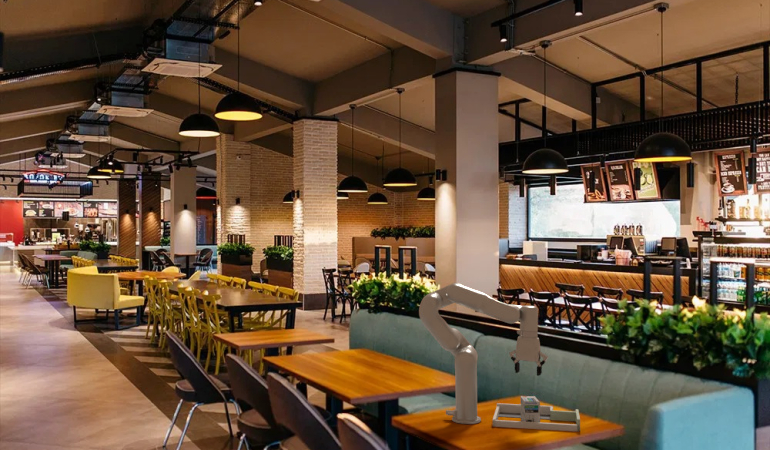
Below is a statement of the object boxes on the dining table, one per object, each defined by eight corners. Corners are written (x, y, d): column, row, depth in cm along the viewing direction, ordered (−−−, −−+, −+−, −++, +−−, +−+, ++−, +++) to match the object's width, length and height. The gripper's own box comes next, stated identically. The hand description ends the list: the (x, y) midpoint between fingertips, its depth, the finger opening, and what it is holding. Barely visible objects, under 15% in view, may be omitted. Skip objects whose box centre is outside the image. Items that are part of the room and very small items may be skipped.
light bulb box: (540, 426, 291) (540, 401, 291) (524, 426, 291) (524, 401, 291) (535, 420, 302) (535, 395, 302) (520, 420, 302) (520, 395, 302)
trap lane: (492, 426, 292) (492, 414, 292) (497, 411, 316) (497, 401, 316) (580, 431, 283) (580, 419, 283) (577, 416, 308) (577, 405, 308)
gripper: (506, 333, 298) (505, 372, 298) (545, 337, 289) (544, 377, 289) (513, 331, 305) (512, 370, 304) (550, 335, 296) (550, 375, 295)
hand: (527, 373), depth 297 cm, fingers open, 9 cm apart
